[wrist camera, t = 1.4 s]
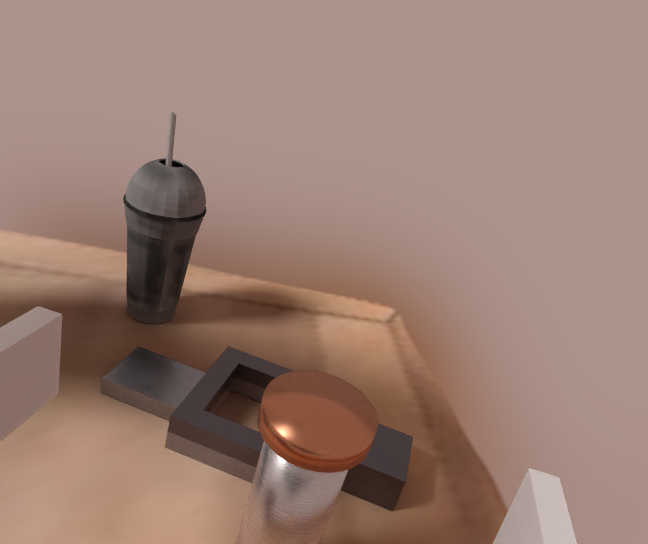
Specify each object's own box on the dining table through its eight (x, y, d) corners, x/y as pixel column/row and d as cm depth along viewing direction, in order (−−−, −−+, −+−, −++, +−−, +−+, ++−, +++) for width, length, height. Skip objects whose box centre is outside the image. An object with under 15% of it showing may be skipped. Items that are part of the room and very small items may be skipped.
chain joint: (80, 412, 41) (82, 380, 39) (151, 346, 50) (155, 318, 48) (387, 538, 38) (401, 508, 36) (404, 444, 47) (416, 417, 45)
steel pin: (196, 572, 32) (241, 382, 26) (277, 538, 36) (333, 362, 30) (239, 665, 28) (304, 467, 22) (325, 616, 32) (401, 433, 26)
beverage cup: (198, 304, 58) (232, 116, 49) (172, 340, 51) (206, 130, 43) (131, 285, 58) (154, 94, 49) (97, 318, 51) (117, 104, 43)
